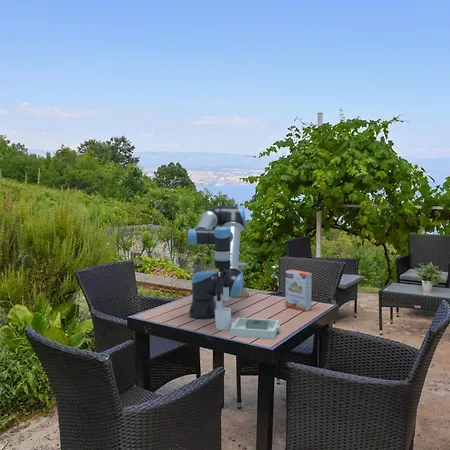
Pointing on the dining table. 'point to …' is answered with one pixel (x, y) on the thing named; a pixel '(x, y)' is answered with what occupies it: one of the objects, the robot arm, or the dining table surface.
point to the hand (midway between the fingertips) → (222, 304)
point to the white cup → (223, 318)
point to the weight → (257, 325)
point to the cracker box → (298, 290)
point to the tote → (241, 331)
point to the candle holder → (243, 292)
